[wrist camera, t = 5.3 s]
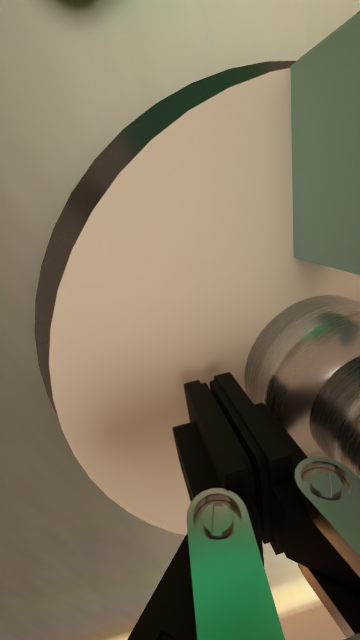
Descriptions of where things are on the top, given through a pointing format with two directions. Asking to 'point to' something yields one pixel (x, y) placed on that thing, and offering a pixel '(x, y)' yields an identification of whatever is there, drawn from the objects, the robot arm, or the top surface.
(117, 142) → the turntable base
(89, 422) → the turntable
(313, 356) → the cover
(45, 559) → the top surface
